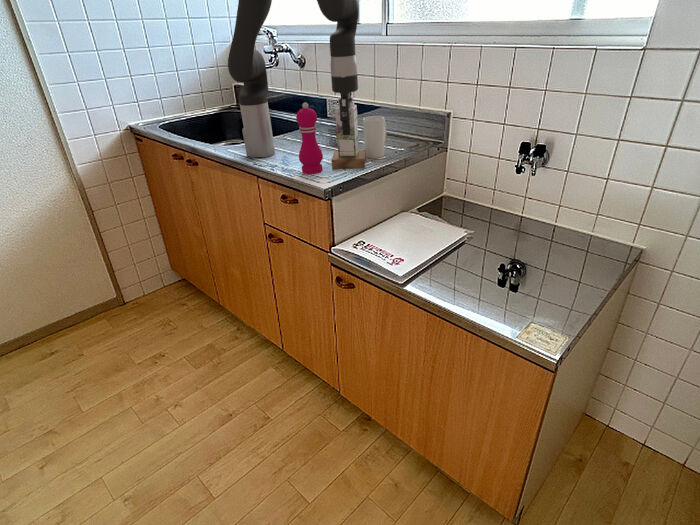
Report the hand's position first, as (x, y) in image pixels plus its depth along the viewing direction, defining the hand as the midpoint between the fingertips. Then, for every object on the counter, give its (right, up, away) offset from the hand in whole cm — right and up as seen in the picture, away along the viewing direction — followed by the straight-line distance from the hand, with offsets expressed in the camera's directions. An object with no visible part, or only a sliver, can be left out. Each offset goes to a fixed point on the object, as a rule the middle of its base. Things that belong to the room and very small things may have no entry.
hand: (347, 131), depth 129 cm
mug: (+10, -4, +12) cm, 16 cm away
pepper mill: (-11, -12, +1) cm, 16 cm away
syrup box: (0, -6, +4) cm, 7 cm away
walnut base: (+1, -9, +5) cm, 10 cm away
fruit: (-1, +4, +28) cm, 28 cm away
